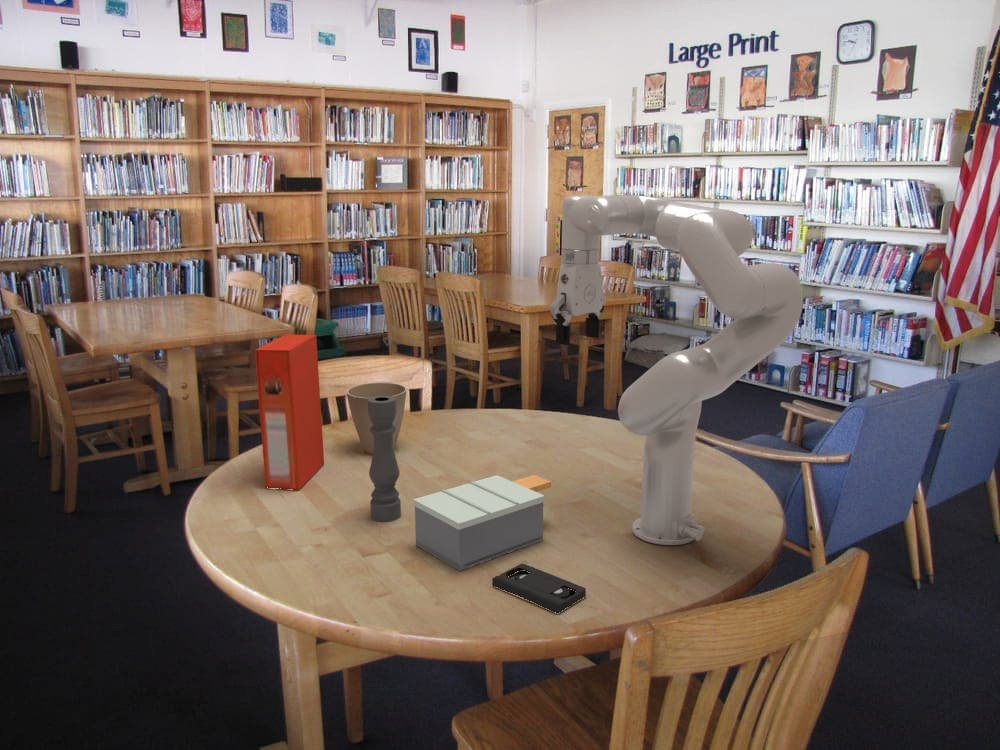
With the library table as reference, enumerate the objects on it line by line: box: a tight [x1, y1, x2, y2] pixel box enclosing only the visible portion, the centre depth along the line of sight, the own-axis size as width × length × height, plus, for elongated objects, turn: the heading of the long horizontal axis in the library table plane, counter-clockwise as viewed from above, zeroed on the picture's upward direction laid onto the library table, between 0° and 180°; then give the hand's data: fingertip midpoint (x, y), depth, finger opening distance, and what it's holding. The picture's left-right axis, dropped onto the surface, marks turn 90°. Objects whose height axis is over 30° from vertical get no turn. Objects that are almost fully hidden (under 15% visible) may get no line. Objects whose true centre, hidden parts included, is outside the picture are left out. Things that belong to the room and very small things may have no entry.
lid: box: [412, 474, 552, 530], centre depth 163 cm, size 14×26×2 cm, turn 129°
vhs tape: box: [491, 563, 587, 613], centre depth 144 cm, size 14×8×2 cm, turn 48°
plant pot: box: [346, 382, 407, 455], centre depth 214 cm, size 15×15×16 cm
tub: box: [414, 502, 544, 572], centre depth 162 cm, size 14×20×8 cm
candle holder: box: [368, 396, 402, 523], centre depth 172 cm, size 6×6×25 cm
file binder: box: [254, 334, 325, 491], centre depth 194 cm, size 8×17×32 cm, turn 173°
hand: (577, 340), depth 176 cm, fingers open, 9 cm apart
